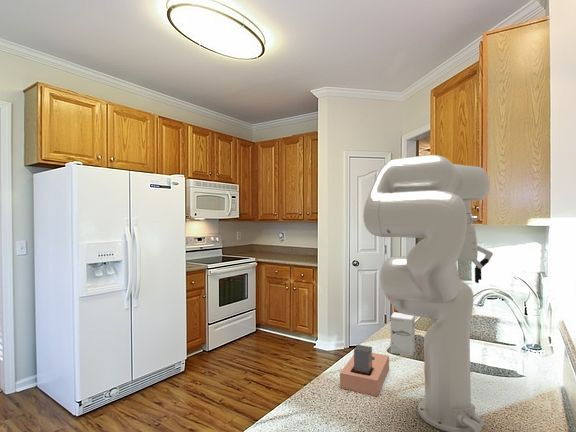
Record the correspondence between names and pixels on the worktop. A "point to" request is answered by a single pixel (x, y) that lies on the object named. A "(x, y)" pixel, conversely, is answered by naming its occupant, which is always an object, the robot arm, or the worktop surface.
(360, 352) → the square peg
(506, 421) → the worktop surface
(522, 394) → the worktop surface
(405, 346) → the supplement box
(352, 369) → the bore block
